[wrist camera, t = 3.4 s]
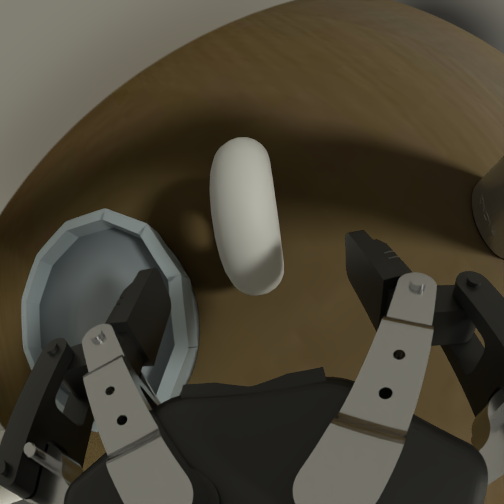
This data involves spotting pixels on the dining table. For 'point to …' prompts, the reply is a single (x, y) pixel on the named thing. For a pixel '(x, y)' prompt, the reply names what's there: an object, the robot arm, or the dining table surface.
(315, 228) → the dining table surface
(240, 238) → the donut
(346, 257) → the robot arm
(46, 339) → the bowl
